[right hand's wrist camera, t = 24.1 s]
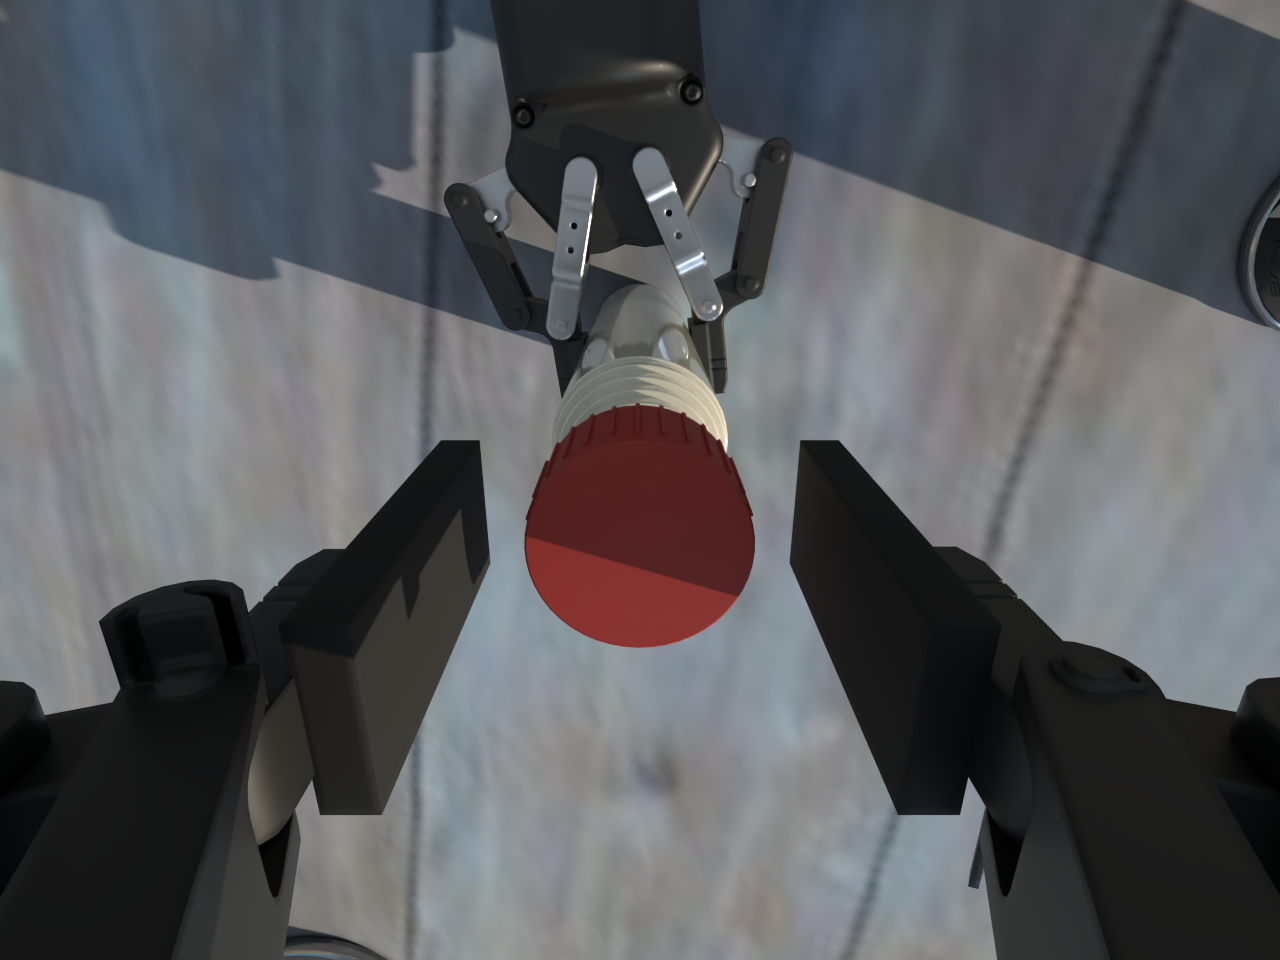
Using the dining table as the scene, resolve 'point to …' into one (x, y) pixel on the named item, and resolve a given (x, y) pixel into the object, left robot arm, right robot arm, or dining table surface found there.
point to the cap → (639, 528)
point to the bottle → (639, 364)
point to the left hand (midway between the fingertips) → (646, 409)
